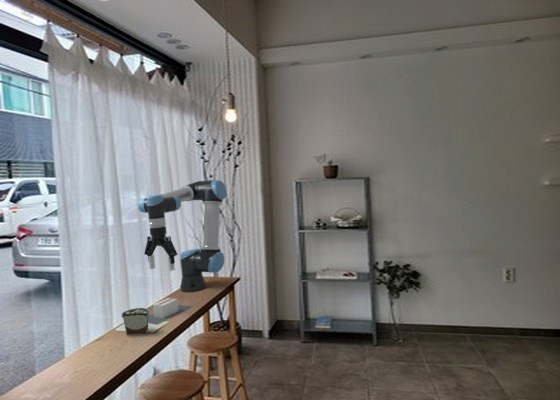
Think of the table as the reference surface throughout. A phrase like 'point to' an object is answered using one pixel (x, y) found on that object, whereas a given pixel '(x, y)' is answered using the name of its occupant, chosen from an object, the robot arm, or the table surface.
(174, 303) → the white rectangular block
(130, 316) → the food container
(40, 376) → the table surface
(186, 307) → the mat
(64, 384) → the table surface
